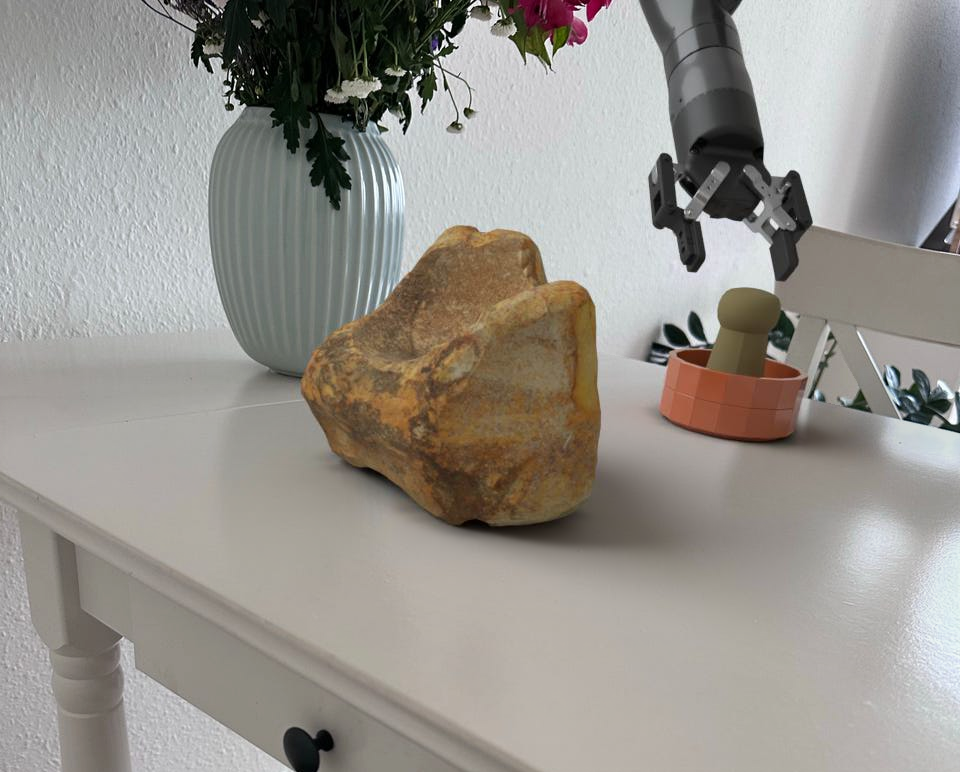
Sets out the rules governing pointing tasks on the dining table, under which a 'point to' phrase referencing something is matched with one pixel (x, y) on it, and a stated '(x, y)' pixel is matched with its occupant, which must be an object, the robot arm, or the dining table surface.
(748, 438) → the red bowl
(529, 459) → the rough brown rock
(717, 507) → the dining table surface
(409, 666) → the dining table surface
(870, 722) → the dining table surface
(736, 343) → the cork
